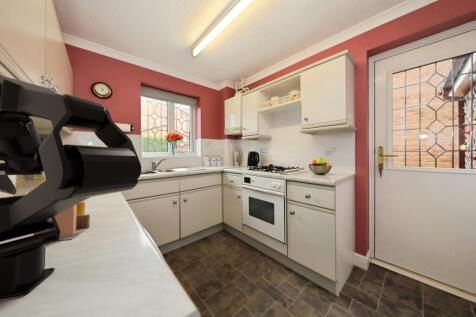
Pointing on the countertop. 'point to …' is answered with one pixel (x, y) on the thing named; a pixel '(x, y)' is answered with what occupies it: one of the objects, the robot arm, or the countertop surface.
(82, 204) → the supplement bottle
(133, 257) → the countertop surface
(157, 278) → the countertop surface
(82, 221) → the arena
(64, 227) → the terracotta block
